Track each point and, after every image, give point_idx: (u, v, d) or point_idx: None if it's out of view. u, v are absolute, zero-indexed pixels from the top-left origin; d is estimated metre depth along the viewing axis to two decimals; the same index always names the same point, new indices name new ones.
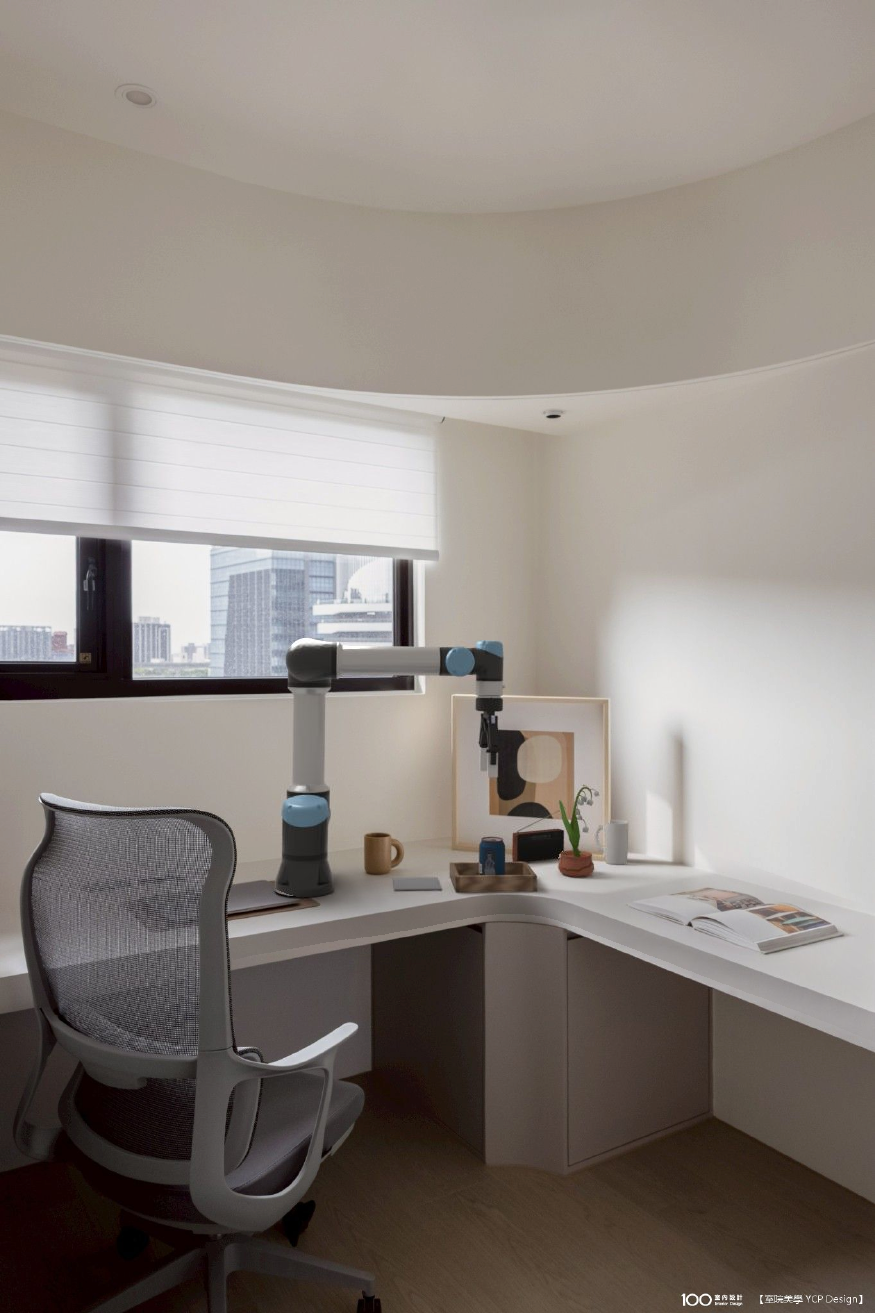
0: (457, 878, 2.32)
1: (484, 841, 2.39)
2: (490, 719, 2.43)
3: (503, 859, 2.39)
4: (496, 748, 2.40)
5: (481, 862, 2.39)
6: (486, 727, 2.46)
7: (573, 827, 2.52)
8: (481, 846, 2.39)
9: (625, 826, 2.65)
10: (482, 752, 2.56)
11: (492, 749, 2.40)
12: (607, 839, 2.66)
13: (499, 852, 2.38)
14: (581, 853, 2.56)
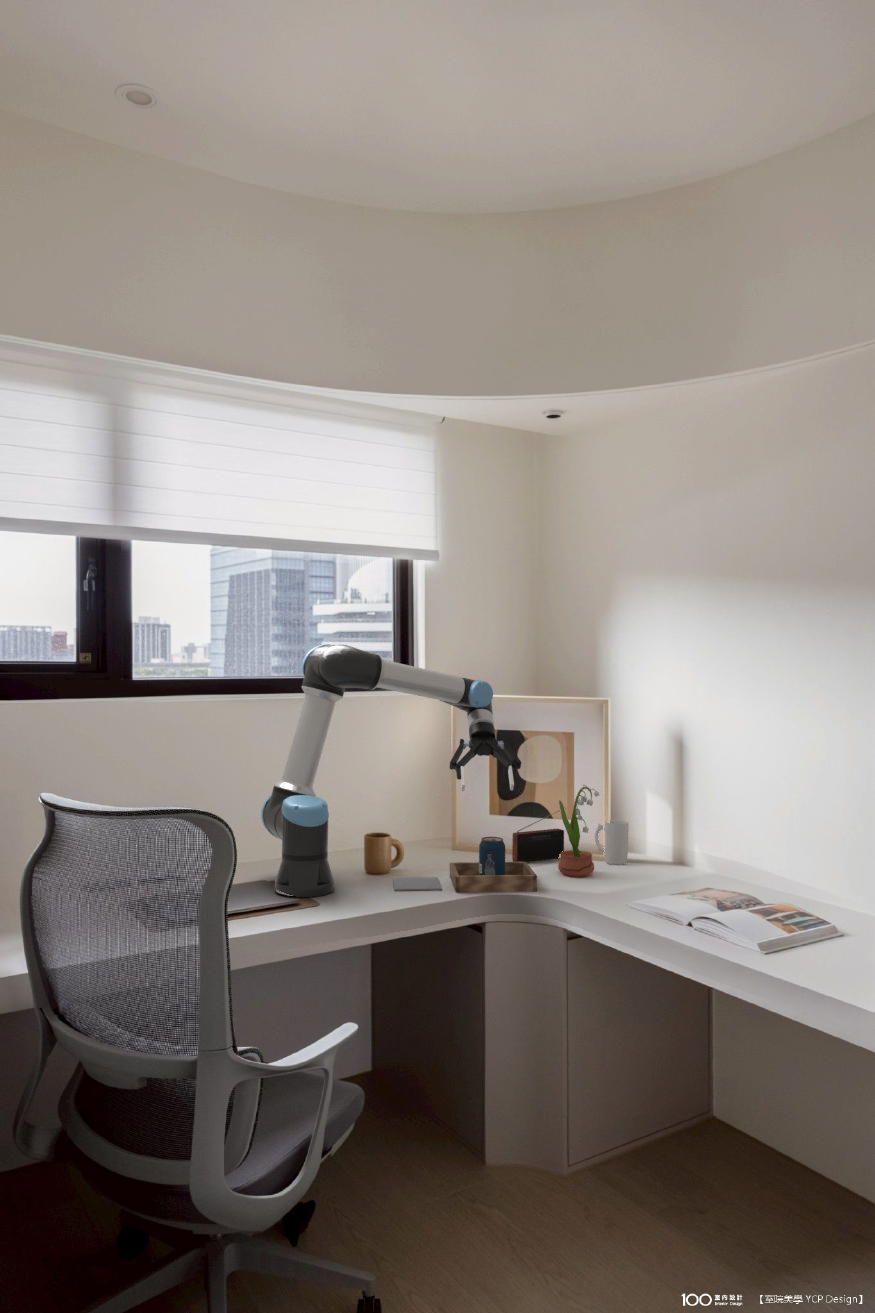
0: (457, 878, 2.32)
1: (484, 841, 2.39)
2: None
3: (503, 859, 2.39)
4: None
5: (481, 862, 2.39)
6: None
7: (573, 827, 2.52)
8: (481, 846, 2.39)
9: (625, 826, 2.65)
10: None
11: None
12: (607, 839, 2.66)
13: (499, 852, 2.38)
14: (581, 853, 2.56)
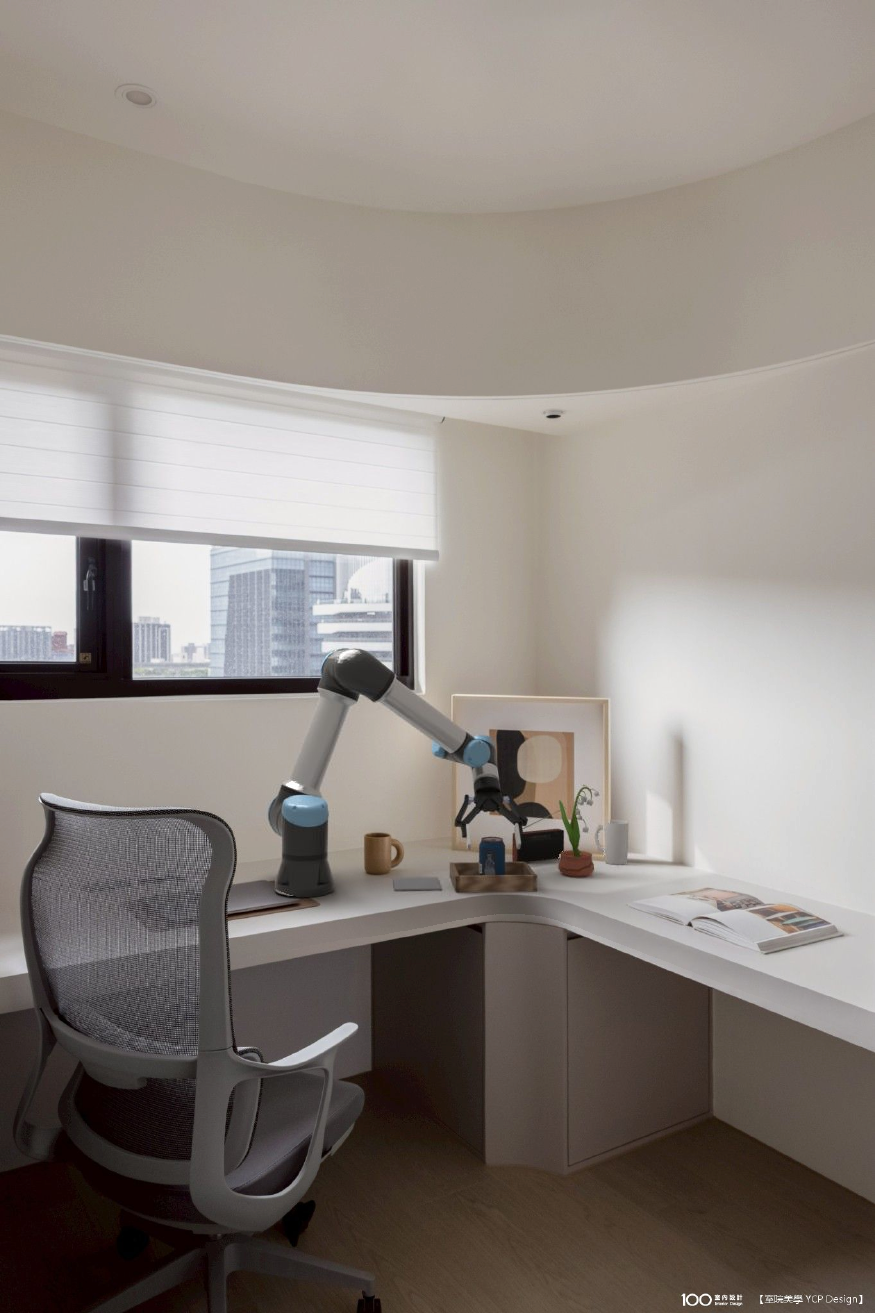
0: (457, 878, 2.32)
1: (484, 841, 2.39)
2: None
3: (503, 859, 2.39)
4: None
5: (481, 862, 2.39)
6: None
7: (573, 827, 2.52)
8: (481, 846, 2.39)
9: (625, 826, 2.65)
10: (468, 828, 2.48)
11: (527, 821, 2.51)
12: (607, 839, 2.66)
13: (499, 852, 2.38)
14: (581, 853, 2.56)
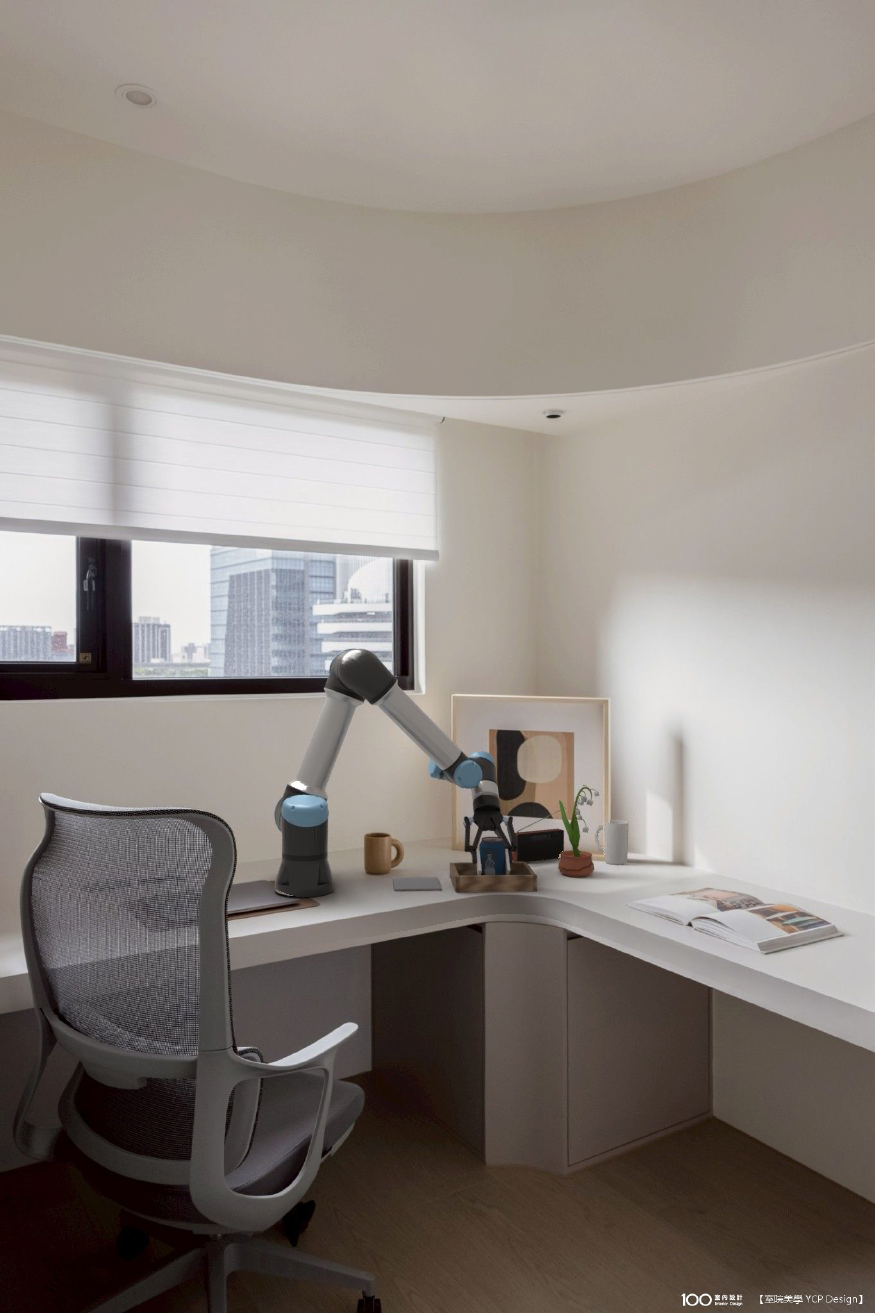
0: (457, 878, 2.32)
1: (484, 841, 2.39)
2: None
3: (503, 859, 2.39)
4: None
5: (481, 862, 2.39)
6: (499, 825, 2.47)
7: (573, 827, 2.52)
8: (481, 846, 2.39)
9: (625, 826, 2.65)
10: None
11: (517, 846, 2.43)
12: (607, 839, 2.66)
13: (499, 852, 2.38)
14: (581, 853, 2.56)
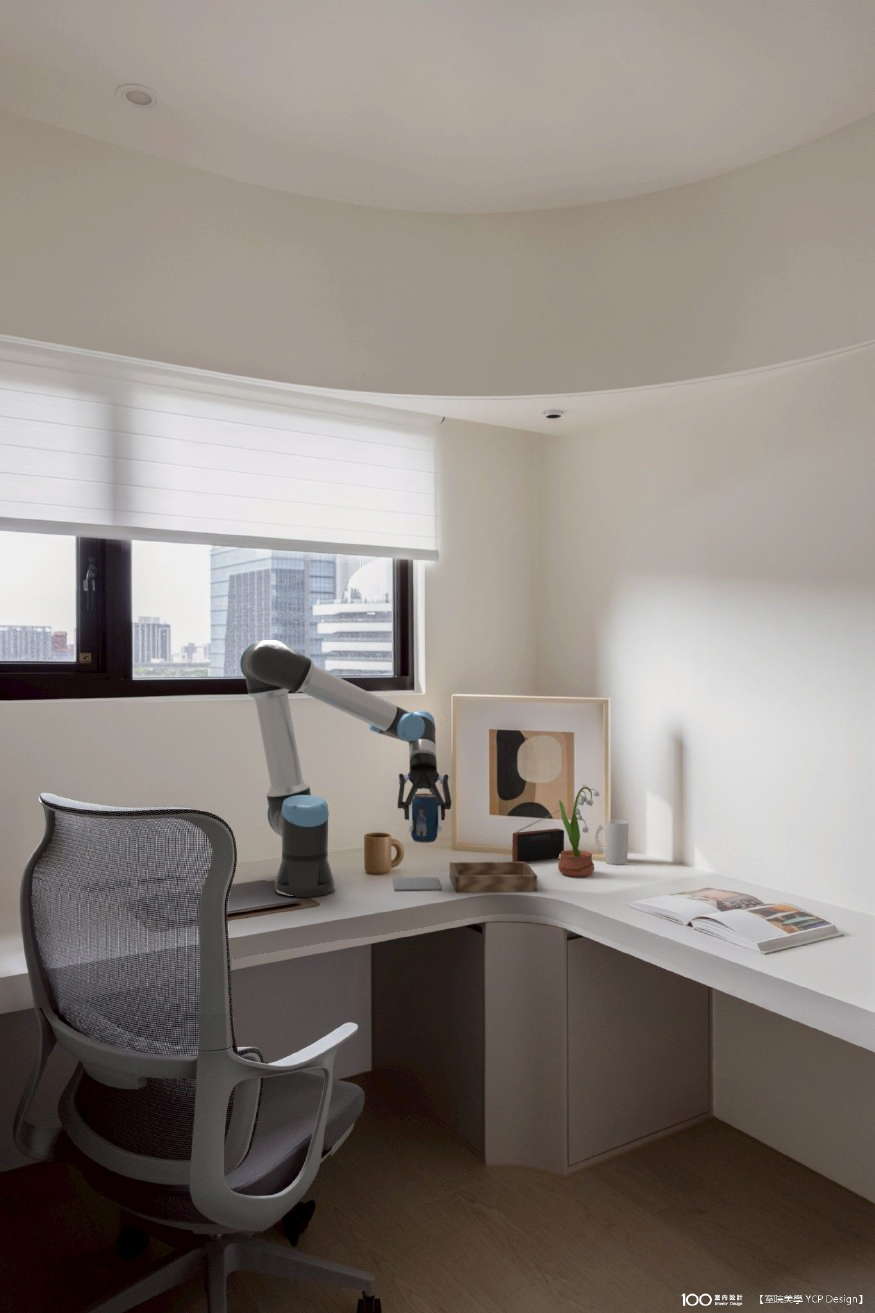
0: (457, 878, 2.32)
1: (416, 797, 2.38)
2: None
3: (435, 815, 2.37)
4: (450, 806, 2.42)
5: (413, 818, 2.38)
6: None
7: (573, 827, 2.52)
8: (413, 802, 2.38)
9: (625, 826, 2.65)
10: (411, 810, 2.39)
11: None
12: (607, 839, 2.66)
13: (431, 808, 2.36)
14: (581, 853, 2.56)
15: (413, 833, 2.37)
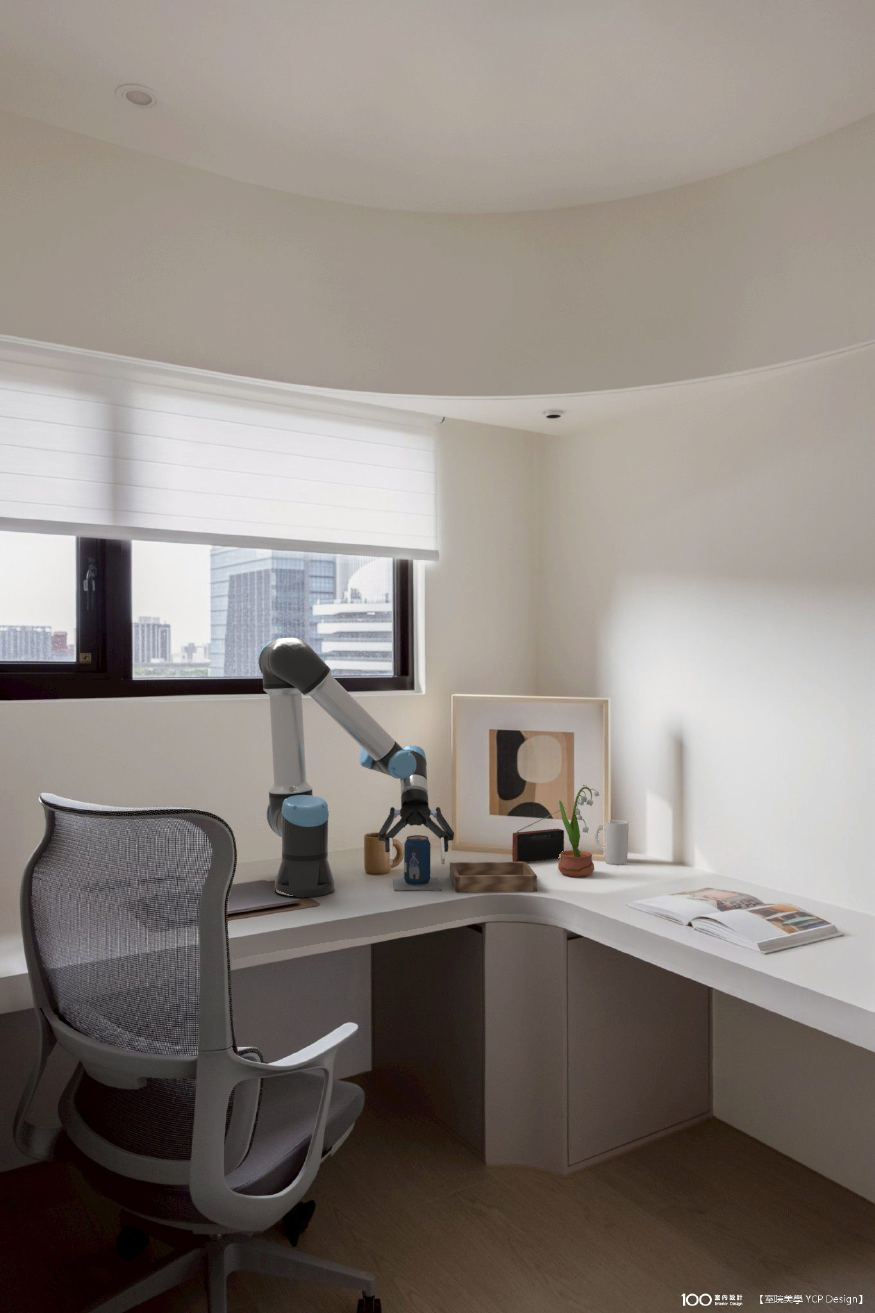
0: (457, 878, 2.32)
1: (409, 840, 2.37)
2: None
3: (427, 858, 2.37)
4: None
5: (405, 861, 2.37)
6: (428, 817, 2.45)
7: (573, 827, 2.52)
8: (406, 845, 2.38)
9: (625, 826, 2.65)
10: None
11: (453, 835, 2.43)
12: (607, 839, 2.66)
13: (423, 851, 2.36)
14: (581, 853, 2.56)
15: (406, 876, 2.37)
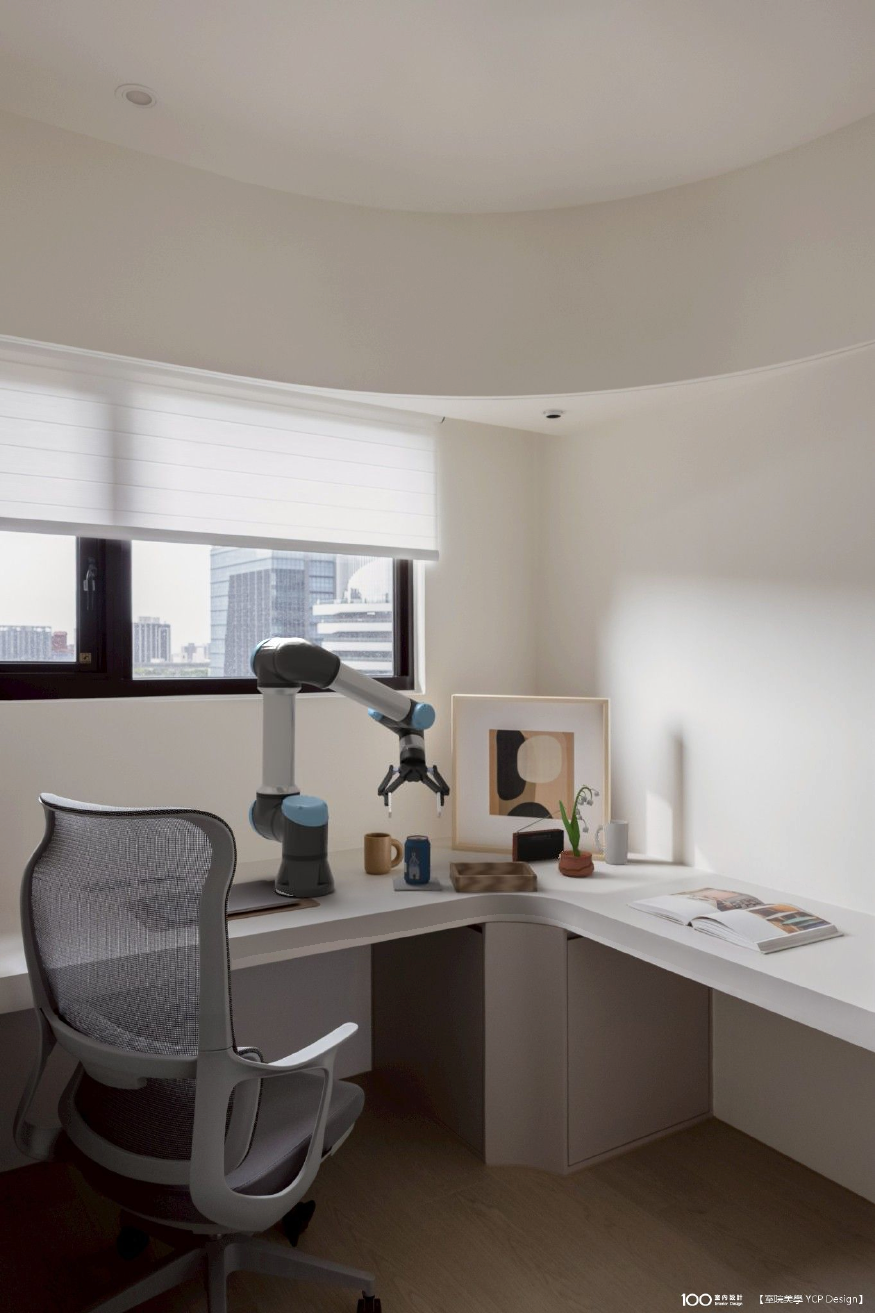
0: (457, 878, 2.32)
1: (409, 840, 2.37)
2: None
3: (427, 858, 2.37)
4: None
5: (405, 861, 2.37)
6: (425, 774, 2.58)
7: (573, 827, 2.52)
8: (406, 845, 2.38)
9: (625, 826, 2.65)
10: None
11: (449, 790, 2.55)
12: (607, 839, 2.66)
13: (423, 851, 2.36)
14: (581, 853, 2.56)
15: (406, 876, 2.37)
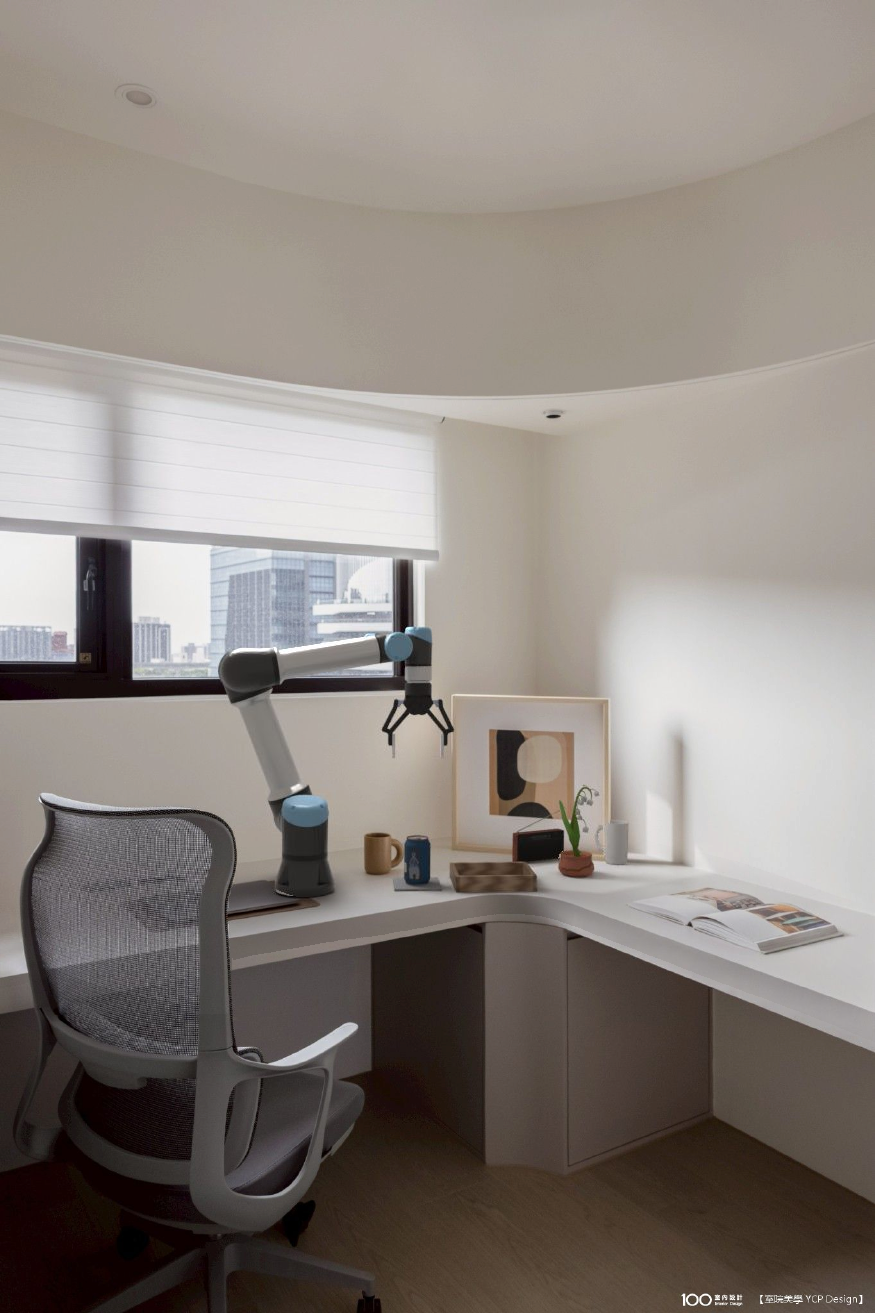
0: (457, 878, 2.32)
1: (409, 840, 2.37)
2: None
3: (427, 858, 2.37)
4: None
5: (405, 861, 2.37)
6: (430, 711, 2.54)
7: (573, 827, 2.52)
8: (406, 845, 2.38)
9: (625, 826, 2.65)
10: None
11: None
12: (607, 839, 2.66)
13: (423, 851, 2.36)
14: (581, 853, 2.56)
15: (406, 876, 2.37)
